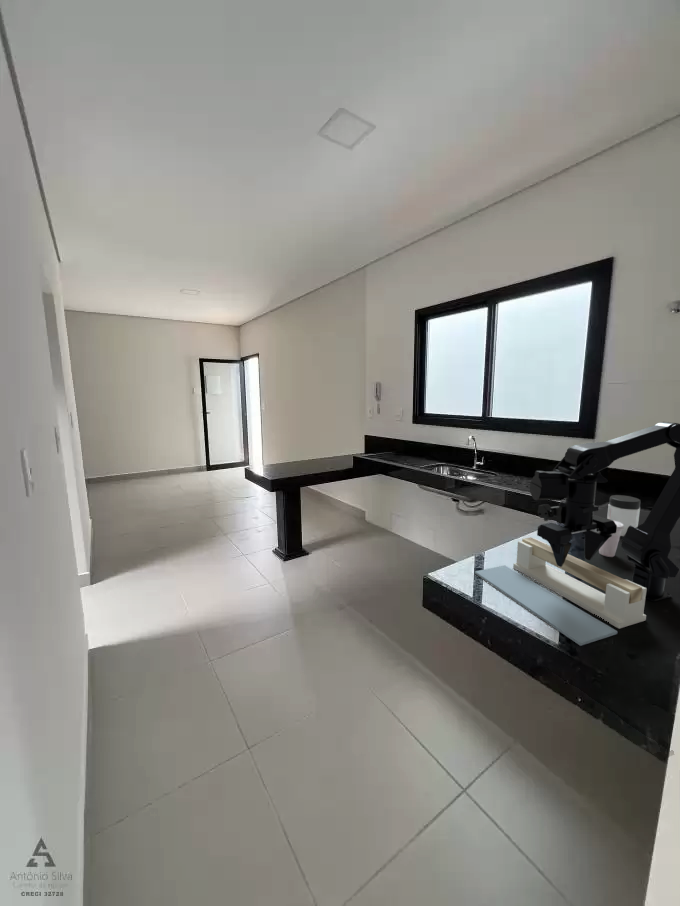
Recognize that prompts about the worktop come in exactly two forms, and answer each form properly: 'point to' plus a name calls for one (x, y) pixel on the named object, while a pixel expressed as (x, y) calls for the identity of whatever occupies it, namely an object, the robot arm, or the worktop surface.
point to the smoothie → (611, 540)
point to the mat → (547, 606)
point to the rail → (584, 570)
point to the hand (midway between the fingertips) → (573, 562)
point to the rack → (582, 590)
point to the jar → (624, 511)
